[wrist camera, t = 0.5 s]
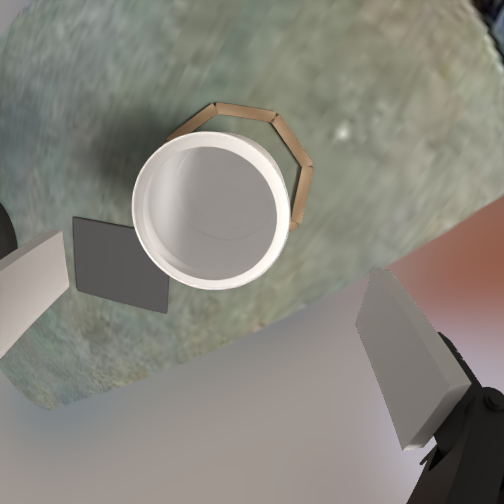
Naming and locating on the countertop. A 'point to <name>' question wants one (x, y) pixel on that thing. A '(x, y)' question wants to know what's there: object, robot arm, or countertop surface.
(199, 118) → the cork ring
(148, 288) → the mat
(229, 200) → the jar
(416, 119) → the countertop surface
